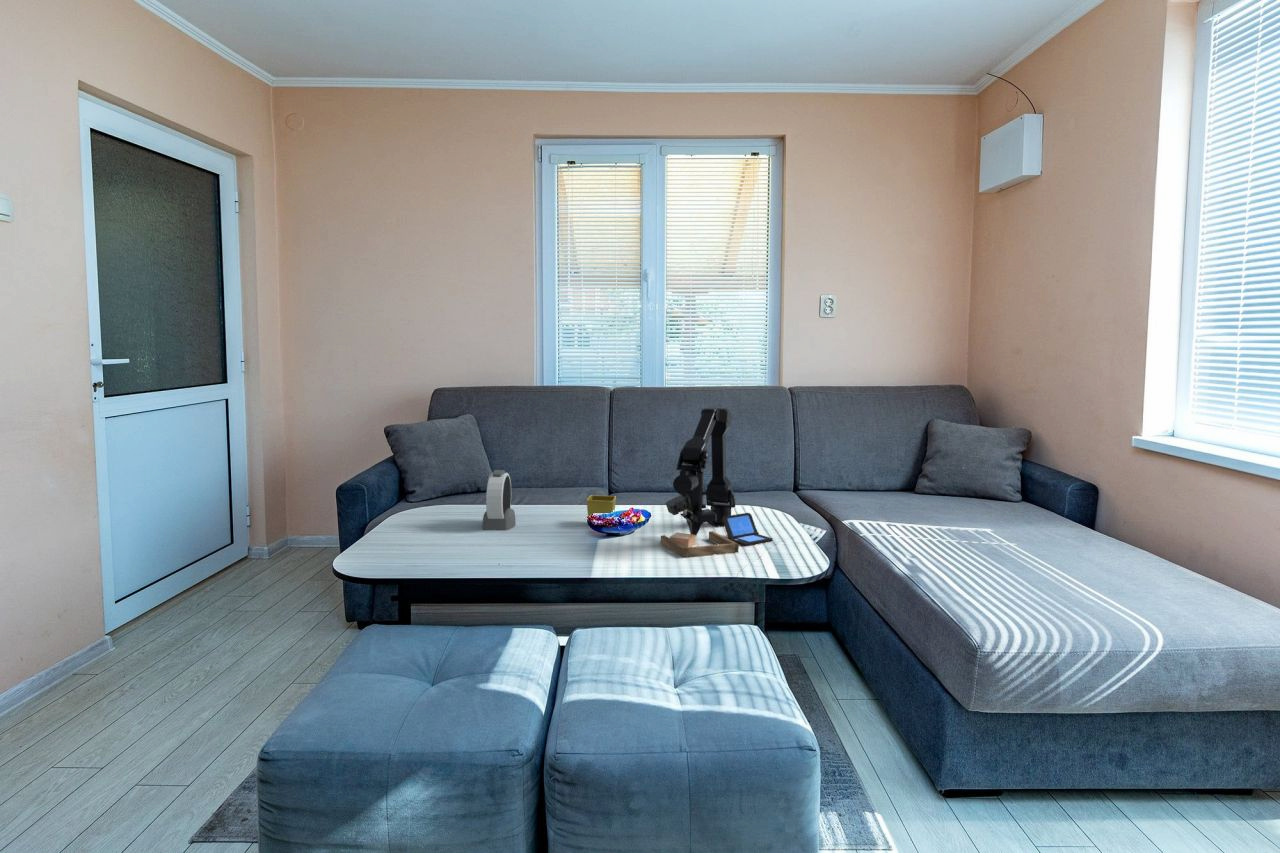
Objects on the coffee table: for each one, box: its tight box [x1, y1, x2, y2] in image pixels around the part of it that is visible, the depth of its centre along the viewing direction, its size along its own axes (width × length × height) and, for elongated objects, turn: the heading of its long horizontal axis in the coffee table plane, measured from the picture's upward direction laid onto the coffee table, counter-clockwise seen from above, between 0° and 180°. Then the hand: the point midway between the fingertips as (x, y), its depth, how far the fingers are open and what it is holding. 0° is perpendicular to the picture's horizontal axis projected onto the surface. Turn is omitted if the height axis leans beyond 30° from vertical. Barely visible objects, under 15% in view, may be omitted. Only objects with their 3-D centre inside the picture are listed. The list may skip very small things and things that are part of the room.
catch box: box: [660, 530, 740, 559], centre depth 230 cm, size 17×16×2 cm
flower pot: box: [586, 494, 617, 518], centre depth 257 cm, size 9×9×9 cm
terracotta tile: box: [669, 532, 697, 548], centre depth 232 cm, size 6×6×3 cm
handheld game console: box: [722, 512, 773, 547], centre depth 240 cm, size 12×11×7 cm
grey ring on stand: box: [482, 469, 516, 531], centre depth 253 cm, size 16×10×18 cm, turn 179°
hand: (693, 538), depth 235 cm, fingers closed
